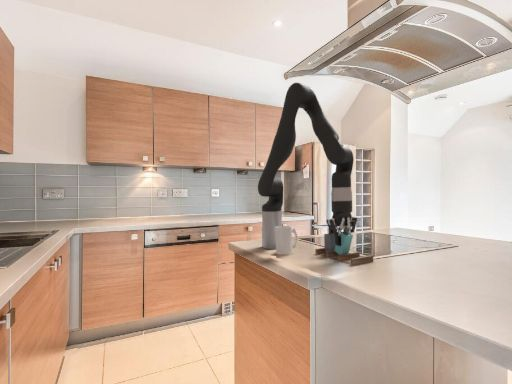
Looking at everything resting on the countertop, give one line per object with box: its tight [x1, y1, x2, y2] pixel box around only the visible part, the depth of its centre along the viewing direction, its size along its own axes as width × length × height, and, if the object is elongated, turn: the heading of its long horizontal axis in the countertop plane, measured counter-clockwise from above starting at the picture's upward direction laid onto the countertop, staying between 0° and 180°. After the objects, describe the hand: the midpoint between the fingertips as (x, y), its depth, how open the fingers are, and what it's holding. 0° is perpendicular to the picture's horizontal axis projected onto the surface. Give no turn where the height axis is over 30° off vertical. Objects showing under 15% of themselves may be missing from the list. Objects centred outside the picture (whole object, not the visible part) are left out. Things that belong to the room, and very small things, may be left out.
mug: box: [275, 225, 298, 256], centre depth 116 cm, size 10×7×12 cm, turn 116°
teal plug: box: [335, 227, 354, 255], centre depth 106 cm, size 4×4×10 cm
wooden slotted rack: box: [314, 247, 374, 266], centre depth 107 cm, size 20×10×3 cm, turn 28°
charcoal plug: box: [323, 227, 336, 254], centre depth 112 cm, size 4×4×10 cm
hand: (342, 244), depth 106 cm, fingers closed on teal plug, 3 cm apart
